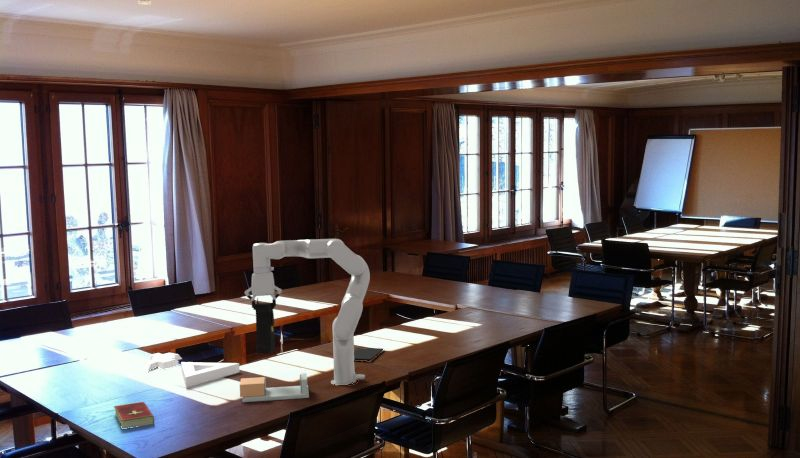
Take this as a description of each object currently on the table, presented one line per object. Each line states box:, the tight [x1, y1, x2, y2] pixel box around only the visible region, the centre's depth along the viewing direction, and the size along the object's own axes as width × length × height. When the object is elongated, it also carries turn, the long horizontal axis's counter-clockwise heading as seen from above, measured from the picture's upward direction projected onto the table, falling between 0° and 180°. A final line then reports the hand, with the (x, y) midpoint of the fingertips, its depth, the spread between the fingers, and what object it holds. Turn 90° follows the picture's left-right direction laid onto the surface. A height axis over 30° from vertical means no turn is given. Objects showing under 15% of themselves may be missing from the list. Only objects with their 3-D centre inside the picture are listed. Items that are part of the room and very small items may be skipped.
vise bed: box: [241, 372, 310, 403], centre depth 319 cm, size 28×14×8 cm, turn 99°
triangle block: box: [180, 361, 240, 389], centre depth 350 cm, size 30×26×6 cm
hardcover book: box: [113, 401, 155, 428], centre depth 292 cm, size 12×21×4 cm, turn 29°
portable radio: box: [254, 297, 276, 355], centre depth 333 cm, size 8×6×25 cm
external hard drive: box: [354, 347, 384, 361], centre depth 382 cm, size 14×23×3 cm, turn 164°
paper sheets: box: [145, 352, 183, 370], centre depth 373 cm, size 35×20×6 cm, turn 10°
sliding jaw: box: [239, 376, 267, 398], centre depth 318 cm, size 11×10×5 cm
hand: (264, 308), depth 332 cm, fingers closed on portable radio, 8 cm apart
